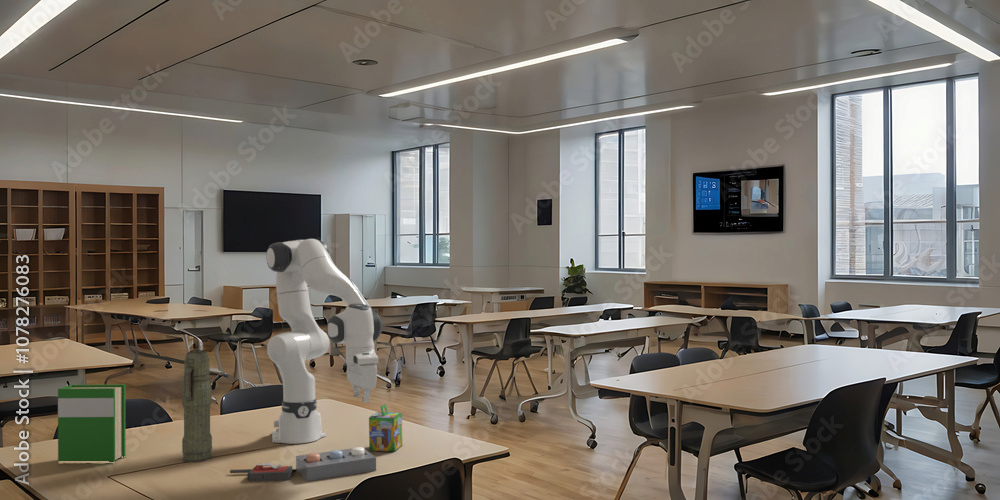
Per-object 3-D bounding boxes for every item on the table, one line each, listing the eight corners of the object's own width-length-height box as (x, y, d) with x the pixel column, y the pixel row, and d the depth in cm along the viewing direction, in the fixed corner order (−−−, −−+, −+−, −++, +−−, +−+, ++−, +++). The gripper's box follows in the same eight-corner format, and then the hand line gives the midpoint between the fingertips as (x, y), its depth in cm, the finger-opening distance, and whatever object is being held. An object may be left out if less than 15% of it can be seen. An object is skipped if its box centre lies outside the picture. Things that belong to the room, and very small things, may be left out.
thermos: (175, 463, 231) (174, 353, 231) (191, 453, 243) (191, 348, 243) (202, 463, 231) (202, 353, 231) (218, 453, 243) (217, 348, 243)
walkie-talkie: (298, 472, 222) (230, 474, 220) (298, 458, 222) (230, 460, 220) (292, 481, 213) (222, 483, 211) (292, 466, 213) (222, 468, 211)
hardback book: (125, 457, 239) (125, 384, 239) (113, 463, 231) (113, 388, 231) (71, 457, 238) (71, 384, 239) (58, 464, 231) (58, 388, 231)
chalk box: (394, 452, 243) (394, 408, 243) (368, 451, 245) (368, 407, 245) (403, 445, 252) (403, 402, 252) (378, 444, 254) (378, 401, 254)
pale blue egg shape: (327, 460, 224) (327, 451, 224) (340, 459, 226) (340, 449, 226) (331, 464, 221) (331, 454, 221) (344, 462, 223) (344, 452, 223)
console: (296, 468, 225) (296, 455, 225) (361, 459, 235) (361, 447, 235) (307, 481, 212) (307, 467, 212) (376, 470, 222) (376, 457, 222)
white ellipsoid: (349, 457, 228) (349, 448, 228) (362, 456, 230) (362, 446, 230) (353, 460, 224) (353, 451, 224) (366, 459, 226) (366, 449, 226)
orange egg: (304, 464, 221) (304, 454, 221) (318, 462, 223) (318, 452, 223) (308, 467, 217) (308, 457, 217) (321, 465, 219) (321, 455, 219)
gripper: (341, 353, 235) (342, 395, 235) (359, 360, 217) (360, 406, 217) (360, 351, 238) (361, 393, 238) (380, 358, 220) (381, 403, 220)
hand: (361, 399), depth 227 cm, fingers open, 8 cm apart
